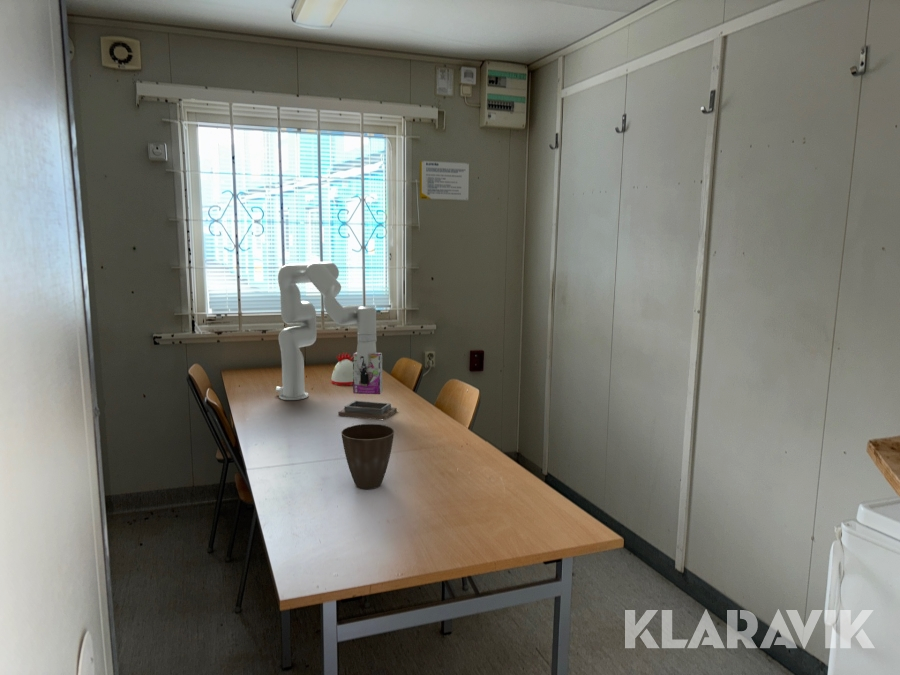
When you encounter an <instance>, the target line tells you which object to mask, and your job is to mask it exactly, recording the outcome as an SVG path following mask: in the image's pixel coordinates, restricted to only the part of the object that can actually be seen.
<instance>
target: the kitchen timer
mask: <svg viewBox="0 0 900 675" xmlns="http://www.w3.org/2000/svg"><path fill="white" fill-rule="evenodd" d="M336 359H337V360H338V362H337V363H336V364H335V366H334V367H333V371H332V374H331V377H330V378H331V379H330V380H331V384H332V385H334V384H335V386H342V385H346V386H353V355H352V356H351V354H348V352H346V353H345V352H342V354H341V353H339V354H338V355H336Z"/></svg>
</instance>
